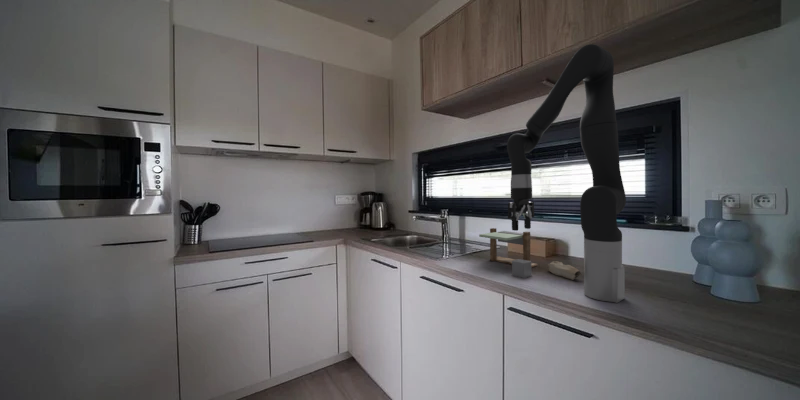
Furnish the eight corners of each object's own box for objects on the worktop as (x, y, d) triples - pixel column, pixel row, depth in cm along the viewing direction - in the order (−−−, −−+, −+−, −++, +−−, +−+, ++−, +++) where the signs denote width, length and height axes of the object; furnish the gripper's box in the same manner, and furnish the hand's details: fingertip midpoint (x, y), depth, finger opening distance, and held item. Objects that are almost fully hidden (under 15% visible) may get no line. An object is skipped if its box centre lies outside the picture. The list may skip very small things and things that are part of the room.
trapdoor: (531, 243, 123) (531, 233, 122) (507, 249, 112) (507, 238, 112) (503, 240, 134) (503, 230, 133) (479, 244, 123) (479, 234, 123)
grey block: (531, 275, 107) (531, 261, 106) (524, 278, 104) (524, 263, 104) (519, 272, 111) (519, 259, 111) (512, 275, 108) (511, 260, 108)
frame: (537, 265, 121) (537, 231, 120) (528, 268, 116) (528, 232, 116) (498, 258, 136) (498, 227, 136) (489, 260, 132) (489, 228, 131)
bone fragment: (545, 271, 113) (545, 259, 113) (560, 270, 113) (560, 259, 113) (566, 281, 99) (566, 268, 99) (583, 281, 100) (584, 268, 99)
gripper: (520, 186, 99) (520, 232, 100) (540, 186, 108) (540, 228, 108) (501, 187, 105) (501, 230, 106) (522, 187, 114) (522, 227, 114)
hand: (521, 229), depth 107 cm, fingers open, 8 cm apart
